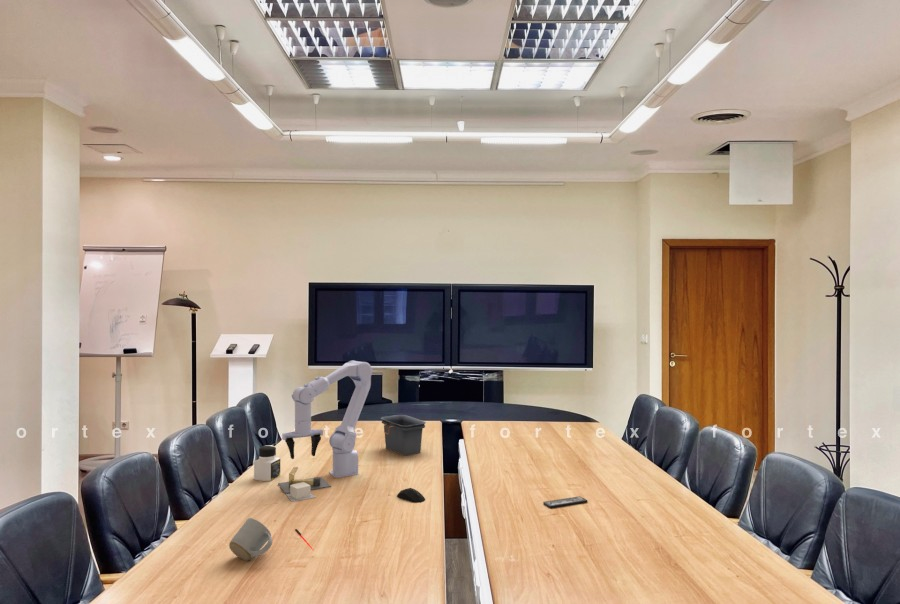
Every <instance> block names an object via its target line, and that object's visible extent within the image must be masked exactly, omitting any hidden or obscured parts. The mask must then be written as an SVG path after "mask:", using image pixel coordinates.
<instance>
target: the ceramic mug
mask: <svg viewBox="0 0 900 604" xmlns="http://www.w3.org/2000/svg"><path fill="white" fill-rule="evenodd" d="M272 545H273V538H272V533H271V531H270V530H269V529H268V528H267V526H266V525H265V524H264V523H262V522H260V520H258V519H255V518H253V517H248V518H247V519H246V520H245V521H244V523H243V524H242V526H241V527H240V528H239V530H237V532H236V533H235V535H234V536H233V537H232V538H231V540H230V542H229V545H228V546H229V549H230V551H231V552H232V553H233V554H234V555H235V556H236V557H238V558H239V559H240V560H241V559H242V560H244V561H246V562H249V561H251V560H252V559H253V558H254V557H256V556H257V557H258V556H261V555H263V554H265V553H266V552H268V550H269V549H270V548H271V547H272Z"/></svg>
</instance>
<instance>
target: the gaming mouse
mask: <svg viewBox="0 0 900 604" xmlns="http://www.w3.org/2000/svg"><path fill="white" fill-rule="evenodd" d="M396 497H397V498H398V499H400V500H403V501H405V502H408V503H409V502H410V503H415V504H417V503H421V504H422V503H424V502H425V501H426V498H425V496H424V495H423V494H422V493H421V492H419V491H418V490H417V489H414V488H412V487H409V488H405V489H404V488H403V489H402V490H400V491H399V492H398V493H397V494H396Z"/></svg>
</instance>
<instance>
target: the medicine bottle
mask: <svg viewBox="0 0 900 604" xmlns="http://www.w3.org/2000/svg"><path fill="white" fill-rule="evenodd" d="M276 447H277V446H274V445H269V444H268V445H263V446H261V447H259V449H258V459H256V460H254V462H253V480H254V481H261V480H262V481H264V482H272V481H274V480H275V478H276V479H277V478H279V477H280V476H281V457H280V456H279V457H278V456H277V455H276V453H277V452H276V451H277V448H276Z"/></svg>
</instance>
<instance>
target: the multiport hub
mask: <svg viewBox="0 0 900 604" xmlns="http://www.w3.org/2000/svg"><path fill="white" fill-rule="evenodd" d="M586 503H587V504H588V499H586V498H584V497H582V496H581V495H579V496H573V497H567V498H561V499H560V498H559V499H554V500H546V501H543V506H544V507H547V508H548V509H556V508H562V507H563V508H564V507H568V506H575V505H580V504H582V505H583V504H586Z"/></svg>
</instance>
